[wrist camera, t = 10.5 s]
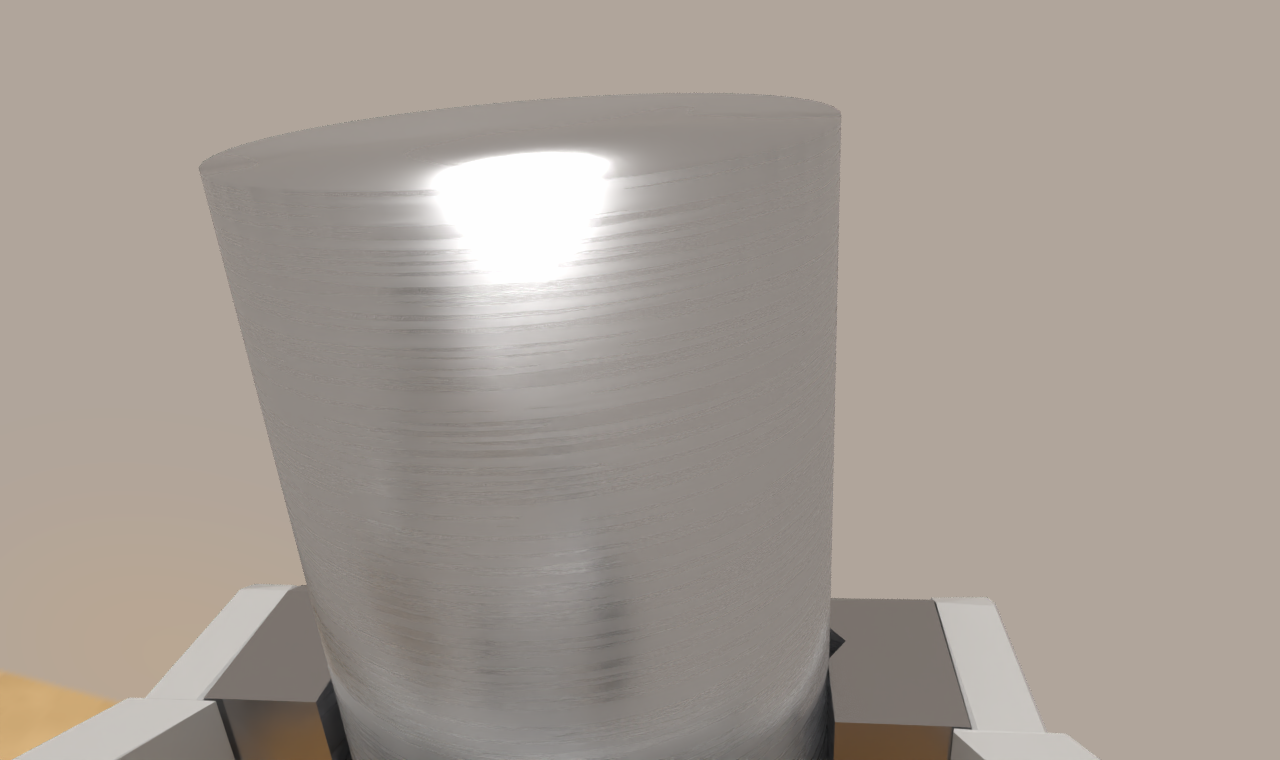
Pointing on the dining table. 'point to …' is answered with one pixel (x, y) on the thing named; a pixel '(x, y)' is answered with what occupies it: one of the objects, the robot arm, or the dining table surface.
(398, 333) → the steel pin
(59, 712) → the dining table surface
